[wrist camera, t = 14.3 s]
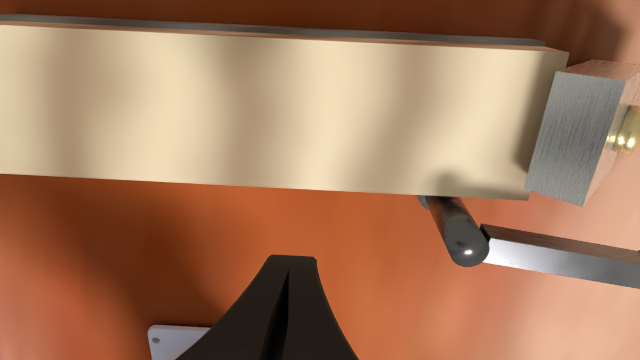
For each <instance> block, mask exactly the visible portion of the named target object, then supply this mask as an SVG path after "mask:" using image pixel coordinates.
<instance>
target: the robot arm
mask: <svg viewBox="0 0 640 360" xmlns="http://www.w3.org/2000/svg"><path fill="white" fill-rule="evenodd" d="M157 338H158V339H157ZM148 339H149V345H150V351H151V357H152V360H359V359H358V357H357V356H356V355H355V353H354V351H353V350H352V348H351V346H350V345H349V343H348V341H347V340H346V338H345V336H344V334H343V333H342V331H341V329H340V327H339V325H338V323H337V321H336V319H335V317H334V315H333V312H332V310H331V308H330V306H329V303H328V301H327V298H326V296H325V293H324V290H323V288H322V285H321V281H320V278H319V274H318V269H317V260H316V259H315V258H314V257H308V256H289V255H271V256H269V257H268V258H267V260H266V262H265V263H264V265H263V266H262V268H261V269H260V271H259V272H258V274H257V275H256V277H255V278H254V279H253V281H252V282H251V283H250V285H249V286H248V287H247V288H246V290H245V291H244V292H243V293H242V295H241V296H240V297H239V298H238V299H237V301H236V302H235V303H234V304H233V305H232V306H231V307H230V308H229V310H228V311H227V312H226V313H225V314H224V315H223V316H222V317H221V318H220V319H219V320H218V321H217V322H216V323H215V324H214V325H213V326H212V327H211V328H205V327H186V326H168V325H153V326H151V327H150V328H149V330H148Z"/></svg>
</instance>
